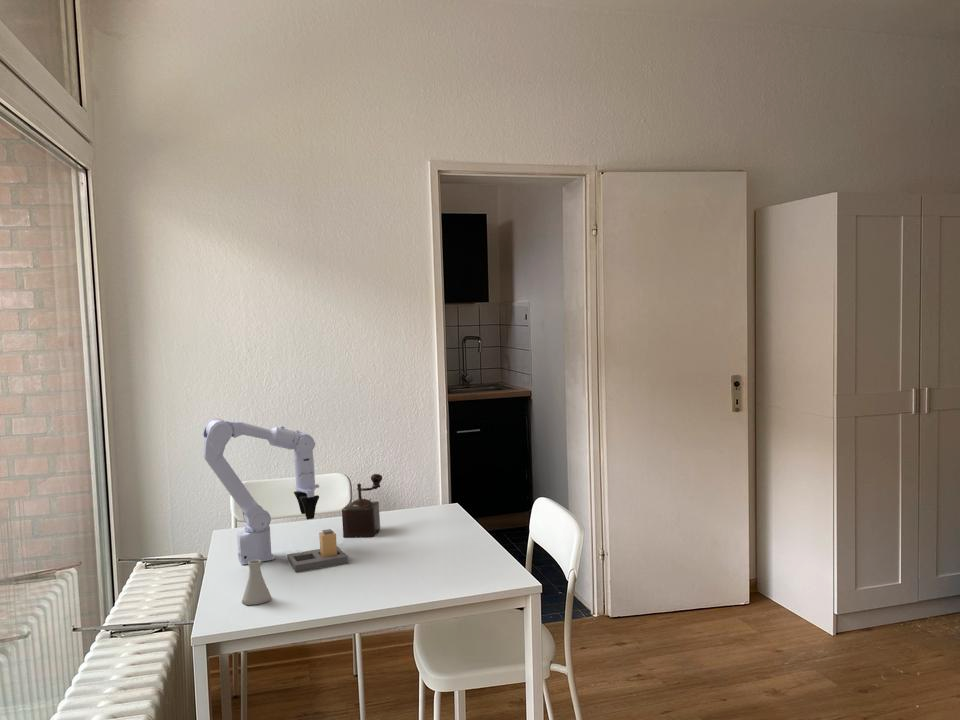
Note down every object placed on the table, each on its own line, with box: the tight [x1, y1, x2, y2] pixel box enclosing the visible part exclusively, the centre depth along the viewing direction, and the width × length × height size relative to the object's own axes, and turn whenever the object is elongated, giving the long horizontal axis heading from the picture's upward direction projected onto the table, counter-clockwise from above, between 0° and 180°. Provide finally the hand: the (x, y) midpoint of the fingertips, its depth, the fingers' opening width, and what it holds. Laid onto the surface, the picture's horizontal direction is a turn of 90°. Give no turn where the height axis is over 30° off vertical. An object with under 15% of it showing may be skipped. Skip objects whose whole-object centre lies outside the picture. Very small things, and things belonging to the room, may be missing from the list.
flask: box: [241, 560, 272, 606], centre depth 189 cm, size 7×7×10 cm
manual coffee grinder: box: [341, 473, 383, 539], centre depth 250 cm, size 16×11×18 cm
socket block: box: [286, 545, 349, 573], centre depth 219 cm, size 15×12×2 cm
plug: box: [318, 528, 338, 557], centre depth 220 cm, size 4×4×9 cm
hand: (307, 516), depth 231 cm, fingers open, 7 cm apart
